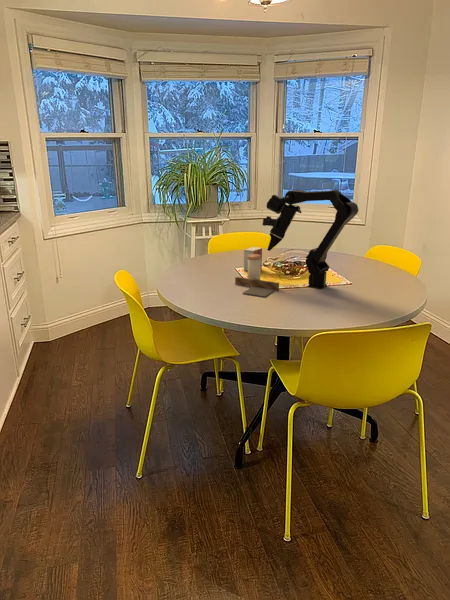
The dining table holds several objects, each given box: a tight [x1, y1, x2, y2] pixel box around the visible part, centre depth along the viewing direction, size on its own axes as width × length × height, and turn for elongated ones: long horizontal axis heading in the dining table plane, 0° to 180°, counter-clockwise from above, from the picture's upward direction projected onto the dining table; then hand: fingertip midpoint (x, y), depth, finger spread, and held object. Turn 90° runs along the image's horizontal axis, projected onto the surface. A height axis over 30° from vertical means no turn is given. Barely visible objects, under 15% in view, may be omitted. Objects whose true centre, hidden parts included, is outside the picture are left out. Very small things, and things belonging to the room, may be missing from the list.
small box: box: [243, 246, 263, 272], centre depth 221 cm, size 8×6×10 cm
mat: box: [242, 286, 275, 298], centre depth 189 cm, size 10×10×1 cm
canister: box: [247, 254, 261, 280], centre depth 201 cm, size 6×6×12 cm
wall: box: [234, 276, 280, 291], centre depth 196 cm, size 20×1×3 cm, turn 63°
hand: (268, 250), depth 201 cm, fingers open, 9 cm apart
